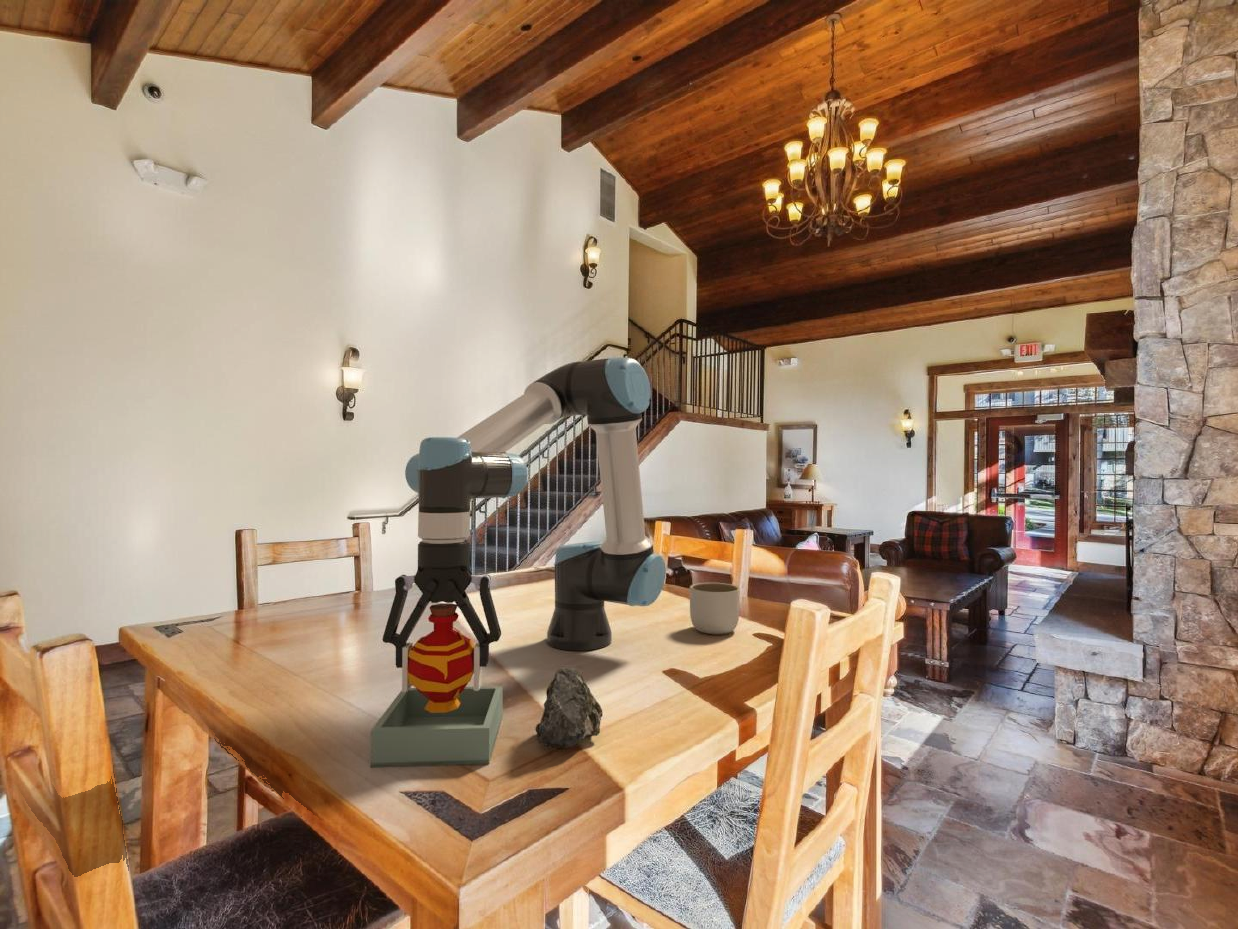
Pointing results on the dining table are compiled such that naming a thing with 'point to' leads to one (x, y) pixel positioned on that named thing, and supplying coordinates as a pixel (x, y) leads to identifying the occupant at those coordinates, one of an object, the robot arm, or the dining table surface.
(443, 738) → the bin
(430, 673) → the potion bottle
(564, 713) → the rock
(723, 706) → the dining table surface
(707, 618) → the planter
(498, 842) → the dining table surface
